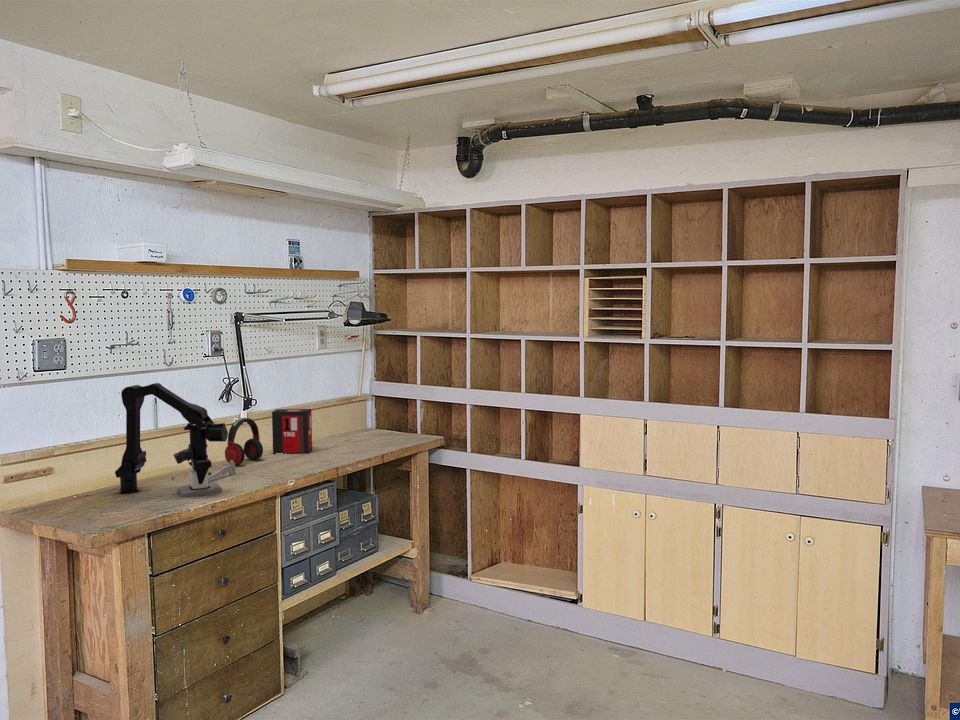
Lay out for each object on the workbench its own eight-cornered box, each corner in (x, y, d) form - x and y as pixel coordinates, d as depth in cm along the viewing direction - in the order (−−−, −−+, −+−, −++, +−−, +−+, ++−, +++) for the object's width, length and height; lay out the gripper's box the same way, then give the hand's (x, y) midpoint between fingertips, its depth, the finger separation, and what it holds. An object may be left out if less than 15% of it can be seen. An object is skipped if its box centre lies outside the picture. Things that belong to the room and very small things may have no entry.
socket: (177, 490, 272) (177, 484, 272) (216, 485, 279) (216, 480, 279) (182, 497, 262) (181, 491, 262) (222, 492, 269) (222, 486, 269)
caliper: (233, 474, 299) (233, 459, 299) (235, 474, 299) (235, 459, 298) (196, 485, 281) (196, 469, 280) (198, 486, 280) (198, 470, 280)
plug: (190, 486, 271) (190, 470, 271) (210, 484, 275) (210, 468, 274) (192, 489, 267) (192, 473, 267) (212, 486, 271) (212, 470, 270)
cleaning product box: (273, 454, 339) (271, 411, 338) (277, 450, 348) (276, 409, 347) (308, 453, 340) (307, 411, 338) (312, 450, 349) (311, 408, 347)
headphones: (239, 468, 310) (238, 421, 309) (221, 466, 314) (220, 420, 313) (266, 459, 326) (265, 416, 325) (248, 458, 330) (247, 414, 329)
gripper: (171, 439, 273) (173, 480, 275) (178, 447, 257) (179, 491, 258) (202, 436, 279) (204, 476, 280) (211, 444, 263) (212, 487, 264)
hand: (199, 482), depth 270 cm, fingers closed on plug, 4 cm apart
